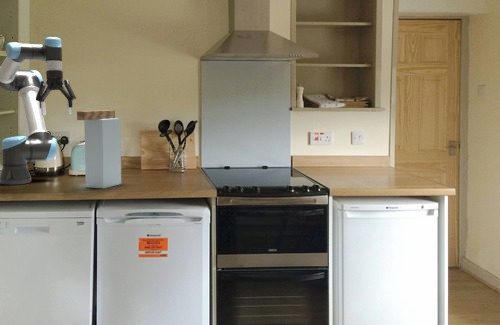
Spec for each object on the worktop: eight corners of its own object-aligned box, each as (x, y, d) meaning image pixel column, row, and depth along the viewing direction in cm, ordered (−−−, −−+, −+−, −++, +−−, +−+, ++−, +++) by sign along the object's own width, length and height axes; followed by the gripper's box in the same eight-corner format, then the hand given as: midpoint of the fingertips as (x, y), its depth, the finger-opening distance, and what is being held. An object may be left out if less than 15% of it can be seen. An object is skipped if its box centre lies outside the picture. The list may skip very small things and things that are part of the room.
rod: (84, 120, 267) (84, 111, 267) (77, 120, 268) (76, 111, 268) (115, 118, 292) (114, 110, 291) (108, 118, 293) (107, 110, 292)
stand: (103, 188, 279) (102, 119, 276) (85, 187, 282) (84, 119, 279) (121, 183, 294) (120, 118, 291) (104, 182, 298) (102, 118, 294)
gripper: (26, 70, 277) (28, 115, 278) (73, 68, 271) (75, 114, 273) (35, 72, 284) (37, 115, 286) (82, 69, 279) (83, 114, 280)
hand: (56, 115), depth 279 cm, fingers open, 13 cm apart
